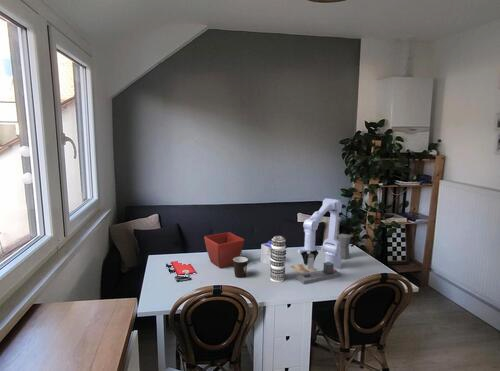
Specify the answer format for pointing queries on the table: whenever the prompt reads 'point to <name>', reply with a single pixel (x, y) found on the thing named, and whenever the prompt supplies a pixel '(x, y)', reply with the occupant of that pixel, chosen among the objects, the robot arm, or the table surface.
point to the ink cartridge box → (266, 253)
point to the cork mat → (302, 268)
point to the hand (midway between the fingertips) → (308, 263)
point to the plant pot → (223, 248)
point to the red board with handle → (181, 270)
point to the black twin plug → (328, 268)
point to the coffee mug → (240, 266)
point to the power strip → (316, 276)
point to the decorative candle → (277, 259)
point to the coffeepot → (345, 244)
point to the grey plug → (310, 262)
